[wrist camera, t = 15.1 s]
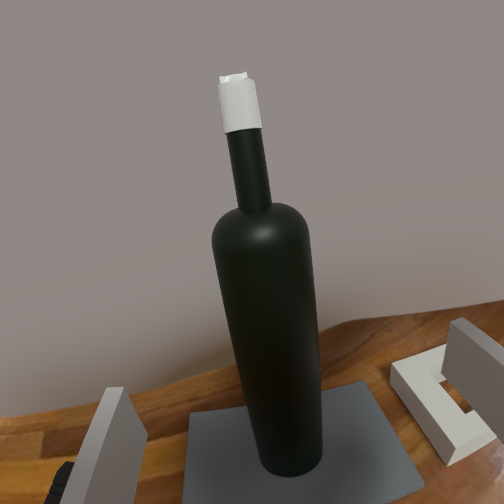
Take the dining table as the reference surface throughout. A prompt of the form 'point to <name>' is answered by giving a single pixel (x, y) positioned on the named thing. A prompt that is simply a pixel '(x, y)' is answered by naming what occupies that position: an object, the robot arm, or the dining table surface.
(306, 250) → the wine bottle
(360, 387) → the coaster mat
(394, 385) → the frame
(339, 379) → the dining table surface
